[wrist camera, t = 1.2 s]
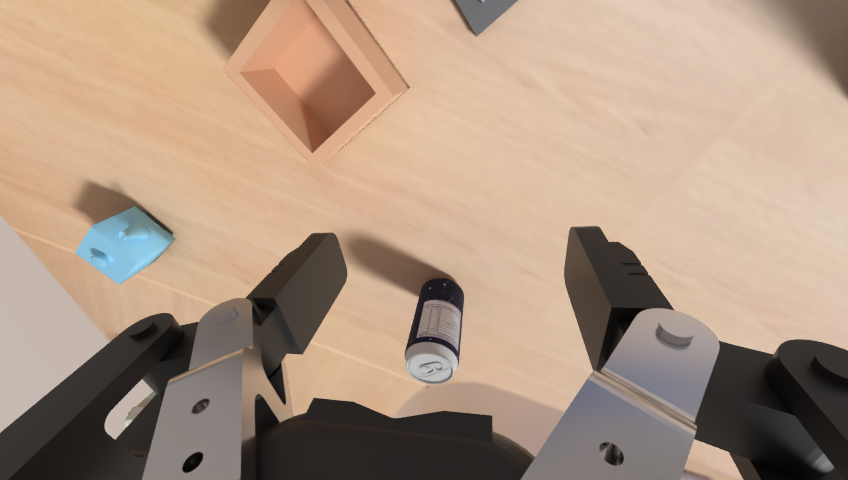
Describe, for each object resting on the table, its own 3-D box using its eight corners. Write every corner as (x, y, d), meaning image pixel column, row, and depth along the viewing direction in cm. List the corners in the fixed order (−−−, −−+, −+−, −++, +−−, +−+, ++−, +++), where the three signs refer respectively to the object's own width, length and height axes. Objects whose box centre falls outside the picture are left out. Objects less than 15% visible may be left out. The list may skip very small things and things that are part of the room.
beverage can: (414, 282, 41) (391, 358, 31) (451, 268, 39) (440, 345, 29) (434, 311, 43) (420, 391, 33) (471, 299, 41) (467, 381, 31)
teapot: (151, 189, 40) (89, 216, 34) (191, 223, 42) (140, 255, 36) (120, 233, 46) (61, 262, 39) (157, 261, 47) (107, 294, 41)
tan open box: (333, -20, 25) (296, -37, 20) (409, 87, 29) (393, 96, 24) (266, 65, 30) (222, 69, 25) (339, 150, 33) (313, 168, 28)
